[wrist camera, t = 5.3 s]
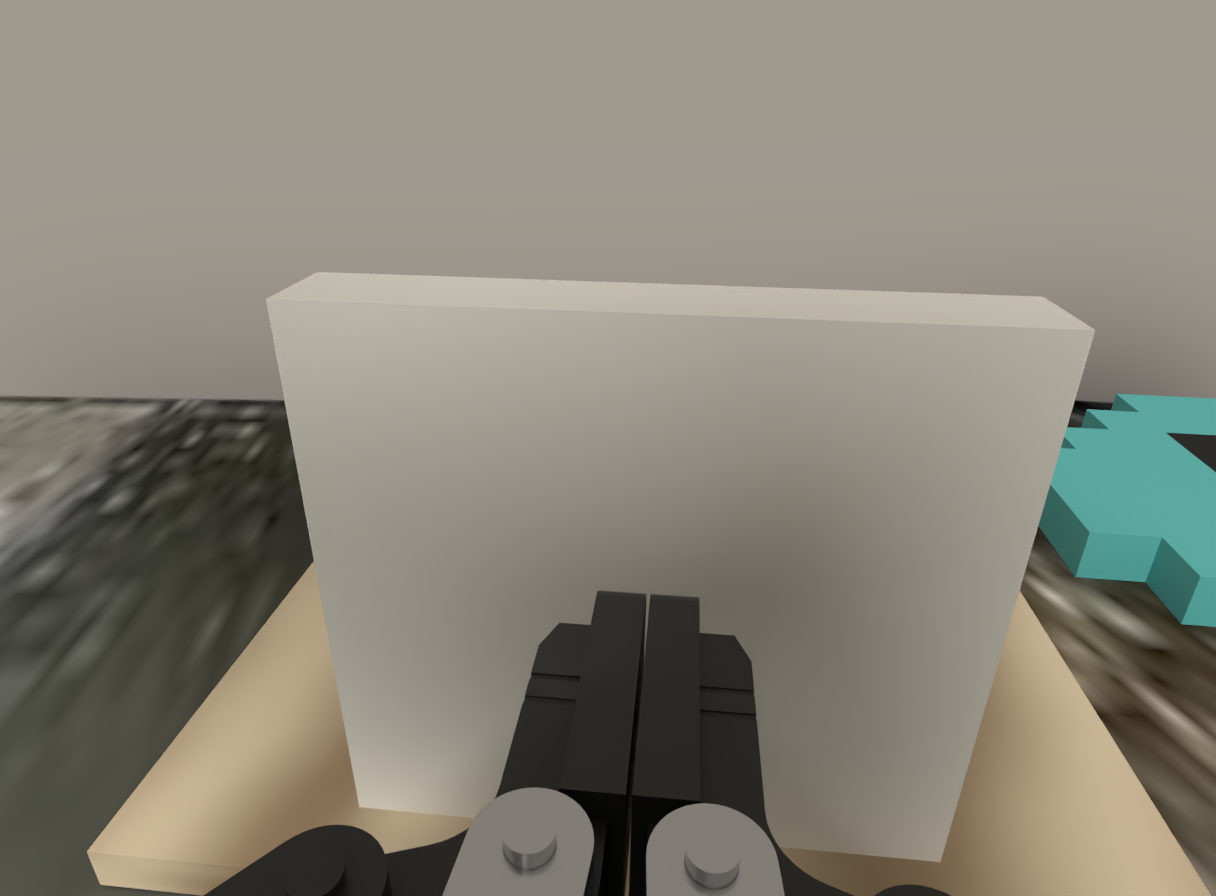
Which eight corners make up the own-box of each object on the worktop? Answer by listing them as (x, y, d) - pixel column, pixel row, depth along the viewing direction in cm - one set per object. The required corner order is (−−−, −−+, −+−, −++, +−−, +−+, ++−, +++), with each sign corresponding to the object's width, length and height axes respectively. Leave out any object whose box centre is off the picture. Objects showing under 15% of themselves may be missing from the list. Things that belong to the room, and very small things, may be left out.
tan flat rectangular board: (100, 885, 16) (86, 851, 16) (371, 514, 29) (368, 491, 29) (1239, 1006, 14) (1258, 972, 14) (973, 551, 28) (979, 527, 27)
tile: (359, 807, 17) (265, 298, 12) (392, 734, 18) (323, 268, 14) (940, 861, 16) (1095, 330, 11) (914, 778, 17) (1036, 293, 13)
